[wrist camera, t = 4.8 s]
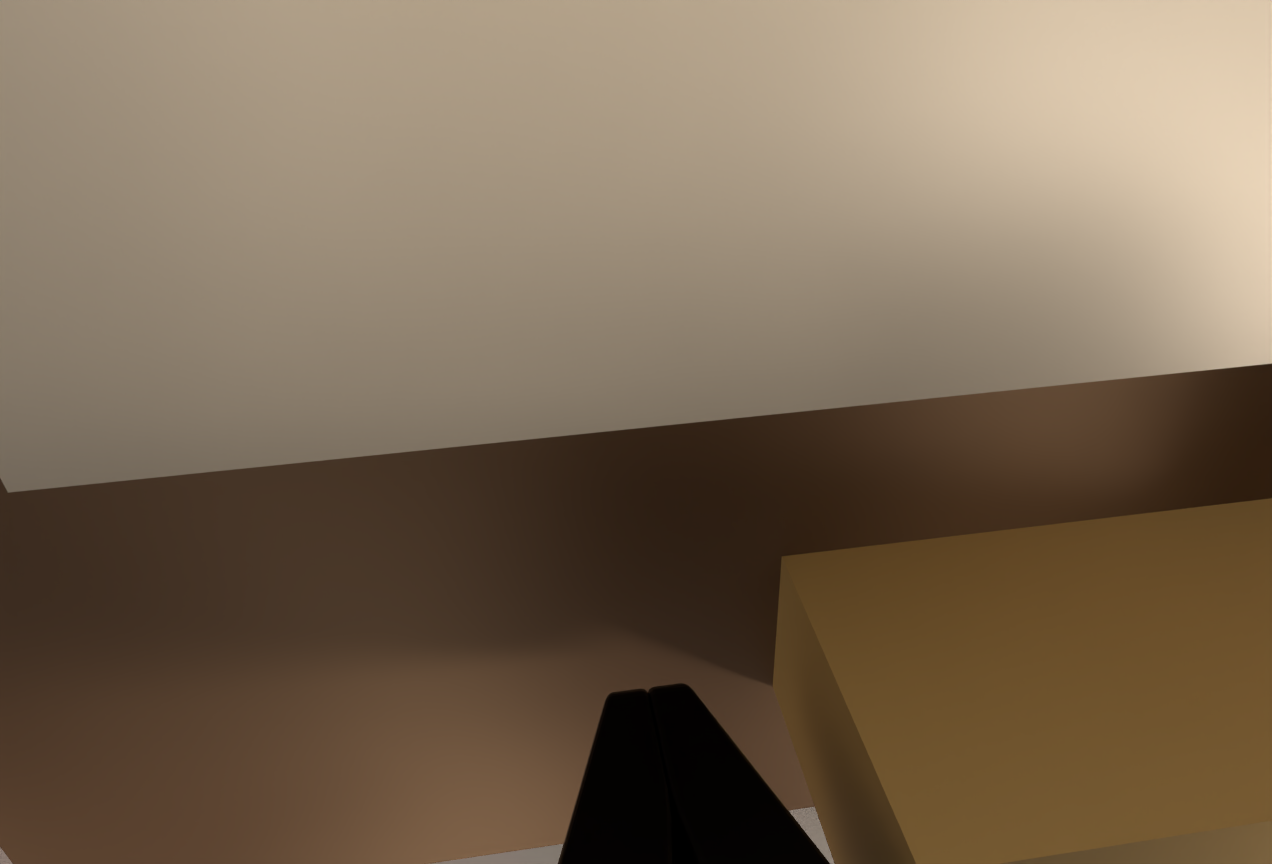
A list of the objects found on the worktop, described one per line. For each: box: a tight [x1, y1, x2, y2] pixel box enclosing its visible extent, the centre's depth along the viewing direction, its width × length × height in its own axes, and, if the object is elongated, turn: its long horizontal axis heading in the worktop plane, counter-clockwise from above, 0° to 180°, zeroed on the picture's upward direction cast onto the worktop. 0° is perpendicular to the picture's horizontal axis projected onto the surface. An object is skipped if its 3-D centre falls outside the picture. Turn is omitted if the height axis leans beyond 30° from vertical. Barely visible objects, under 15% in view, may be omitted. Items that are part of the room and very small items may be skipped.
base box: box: [0, 364, 1272, 864], centre depth 8 cm, size 17×17×3 cm
